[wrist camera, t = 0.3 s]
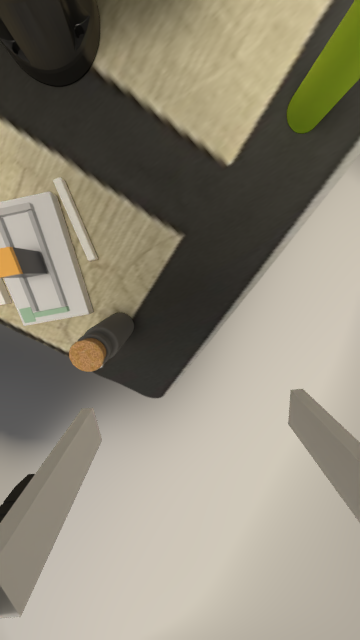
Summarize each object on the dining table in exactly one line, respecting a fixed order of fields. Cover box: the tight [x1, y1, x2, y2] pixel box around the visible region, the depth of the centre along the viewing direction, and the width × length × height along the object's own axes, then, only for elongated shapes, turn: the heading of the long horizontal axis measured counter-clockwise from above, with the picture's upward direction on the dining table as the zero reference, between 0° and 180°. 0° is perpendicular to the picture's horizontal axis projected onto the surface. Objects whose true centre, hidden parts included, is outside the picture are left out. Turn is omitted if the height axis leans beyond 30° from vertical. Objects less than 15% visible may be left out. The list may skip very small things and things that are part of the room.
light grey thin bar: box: [53, 177, 98, 261], centre depth 33 cm, size 14×1×1 cm, turn 18°
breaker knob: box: [0, 247, 48, 278], centre depth 30 cm, size 4×4×6 cm
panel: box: [0, 191, 93, 326], centre depth 34 cm, size 22×14×3 cm, turn 10°
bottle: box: [69, 313, 134, 372], centre depth 31 cm, size 6×6×15 cm
